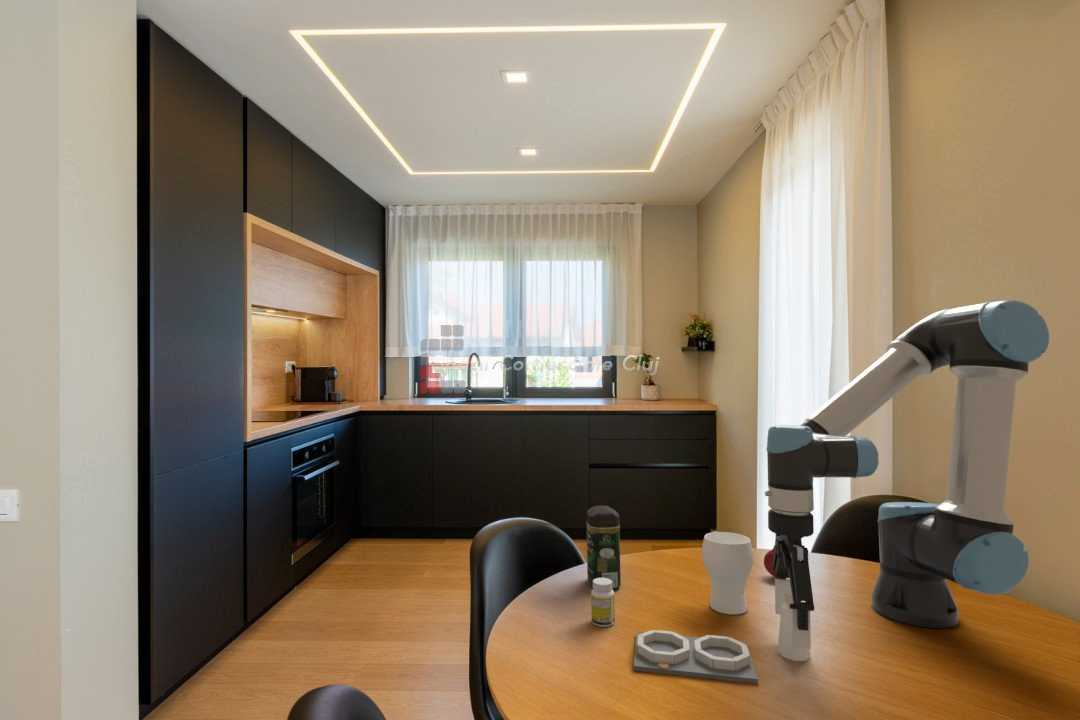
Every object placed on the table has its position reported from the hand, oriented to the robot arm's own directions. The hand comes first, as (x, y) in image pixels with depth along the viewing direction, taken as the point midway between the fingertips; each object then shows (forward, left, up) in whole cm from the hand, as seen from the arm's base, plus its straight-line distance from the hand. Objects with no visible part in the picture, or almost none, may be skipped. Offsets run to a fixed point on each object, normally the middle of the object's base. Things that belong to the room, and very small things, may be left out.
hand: (791, 629), depth 97 cm
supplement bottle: (+35, -6, -5) cm, 36 cm away
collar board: (+18, +5, -4) cm, 19 cm away
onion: (-5, -40, -5) cm, 41 cm away
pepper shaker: (0, 0, -5) cm, 5 cm away
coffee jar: (+37, -27, -5) cm, 46 cm away
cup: (+9, -19, -5) cm, 21 cm away
